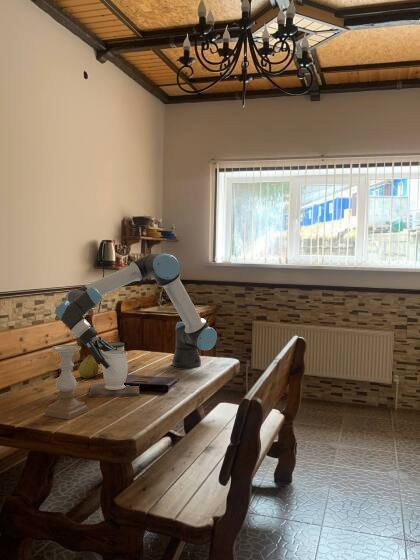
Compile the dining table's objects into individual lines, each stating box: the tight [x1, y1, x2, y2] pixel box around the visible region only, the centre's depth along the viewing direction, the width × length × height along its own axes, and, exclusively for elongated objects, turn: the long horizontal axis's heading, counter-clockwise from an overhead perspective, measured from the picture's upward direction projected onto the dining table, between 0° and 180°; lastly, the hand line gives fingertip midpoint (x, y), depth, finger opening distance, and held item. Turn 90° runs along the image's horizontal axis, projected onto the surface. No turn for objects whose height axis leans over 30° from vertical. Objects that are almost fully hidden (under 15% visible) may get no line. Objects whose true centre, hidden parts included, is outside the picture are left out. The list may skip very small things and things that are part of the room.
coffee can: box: [102, 341, 125, 353], centre depth 239 cm, size 10×10×14 cm
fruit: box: [78, 354, 100, 379], centre depth 229 cm, size 9×9×12 cm
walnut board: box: [88, 383, 140, 398], centre depth 207 cm, size 20×16×1 cm
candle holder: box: [44, 344, 89, 421], centre depth 176 cm, size 11×11×24 cm
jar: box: [101, 350, 129, 390], centre depth 207 cm, size 11×10×15 cm
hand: (119, 369), depth 206 cm, fingers open, 13 cm apart
